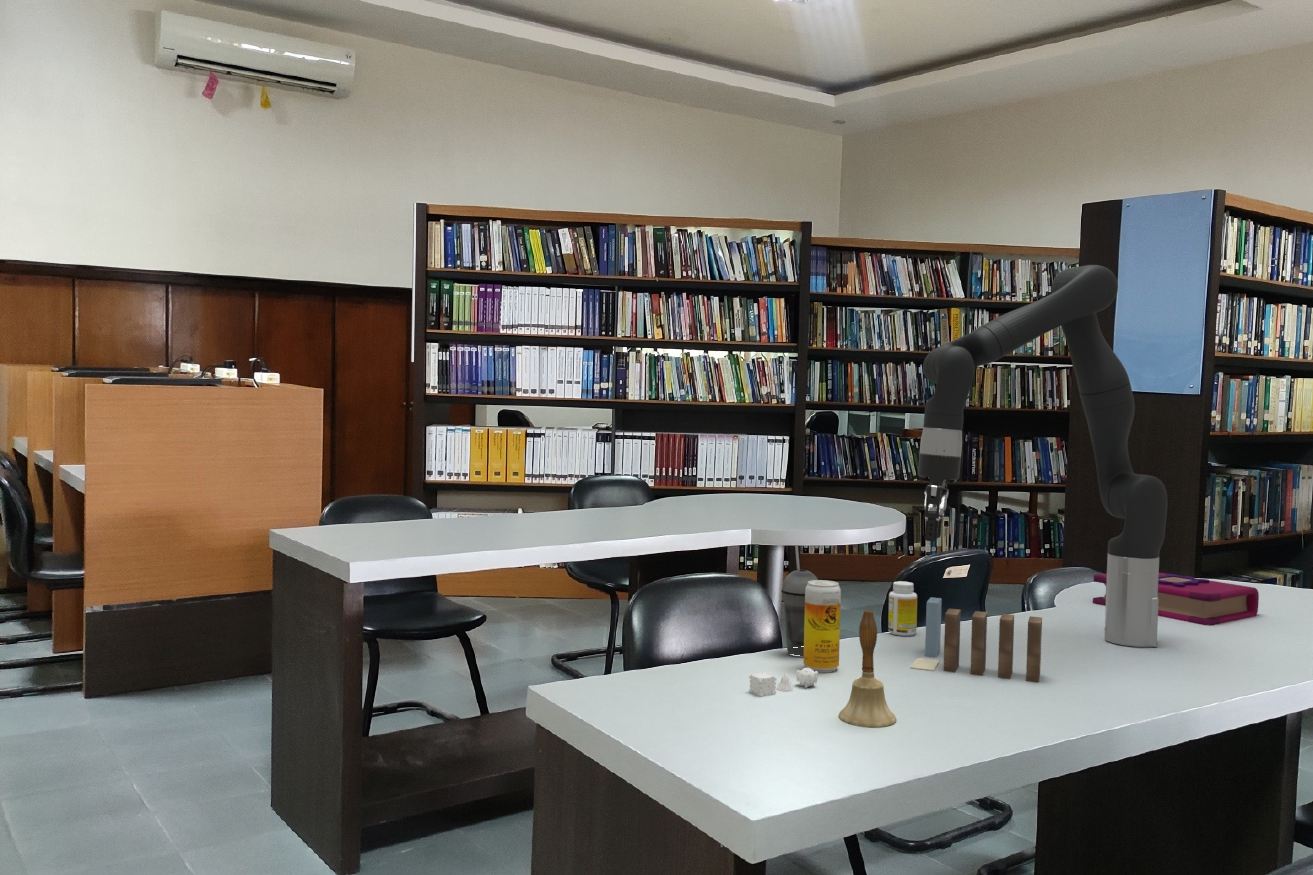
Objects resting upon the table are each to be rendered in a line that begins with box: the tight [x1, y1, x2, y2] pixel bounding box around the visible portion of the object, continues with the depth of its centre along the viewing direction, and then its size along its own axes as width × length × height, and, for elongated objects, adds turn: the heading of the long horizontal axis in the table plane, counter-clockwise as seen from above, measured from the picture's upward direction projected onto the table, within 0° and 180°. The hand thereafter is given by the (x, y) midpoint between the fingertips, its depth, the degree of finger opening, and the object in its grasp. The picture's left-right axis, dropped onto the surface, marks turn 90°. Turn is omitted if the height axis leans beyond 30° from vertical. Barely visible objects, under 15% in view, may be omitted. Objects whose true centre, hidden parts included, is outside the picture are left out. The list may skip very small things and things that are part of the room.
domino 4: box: [997, 613, 1015, 680], centre depth 174 cm, size 2×5×10 cm, turn 157°
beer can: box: [803, 579, 842, 673], centre depth 175 cm, size 6×6×15 cm
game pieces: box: [748, 667, 819, 698], centre depth 162 cm, size 12×3×3 cm, turn 119°
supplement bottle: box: [887, 580, 918, 637], centre depth 203 cm, size 6×6×10 cm
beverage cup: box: [781, 544, 819, 656], centre depth 185 cm, size 7×7×20 cm
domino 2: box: [942, 608, 962, 673], centre depth 177 cm, size 2×5×10 cm, turn 156°
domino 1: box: [924, 596, 942, 658], centre depth 187 cm, size 2×5×10 cm, turn 156°
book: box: [1092, 572, 1260, 627], centre depth 233 cm, size 21×28×8 cm
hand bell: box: [838, 609, 897, 728], centre depth 148 cm, size 8×8×16 cm
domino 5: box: [1025, 615, 1043, 683], centre depth 172 cm, size 2×5×10 cm, turn 157°
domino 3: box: [970, 610, 988, 676], centre depth 175 cm, size 2×5×10 cm, turn 156°
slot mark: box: [910, 657, 940, 672], centre depth 179 cm, size 4×7×1 cm, turn 157°
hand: (932, 539), depth 190 cm, fingers open, 8 cm apart
